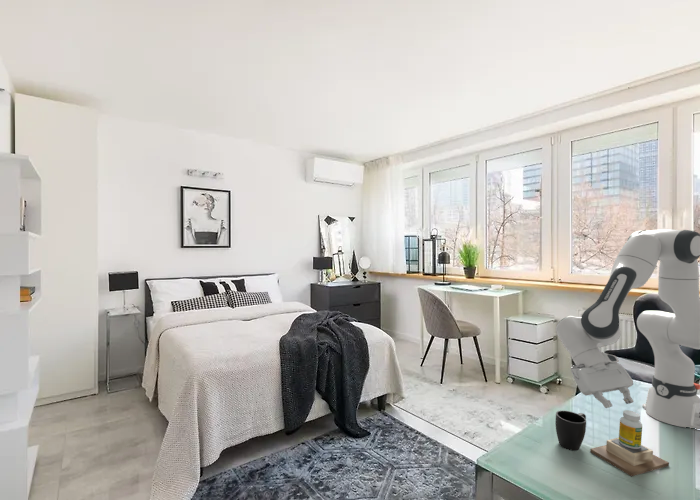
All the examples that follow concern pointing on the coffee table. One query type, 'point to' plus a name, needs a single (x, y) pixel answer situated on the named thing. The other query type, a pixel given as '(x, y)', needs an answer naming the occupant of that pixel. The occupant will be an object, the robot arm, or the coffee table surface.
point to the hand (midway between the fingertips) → (620, 405)
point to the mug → (570, 429)
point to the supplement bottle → (630, 430)
